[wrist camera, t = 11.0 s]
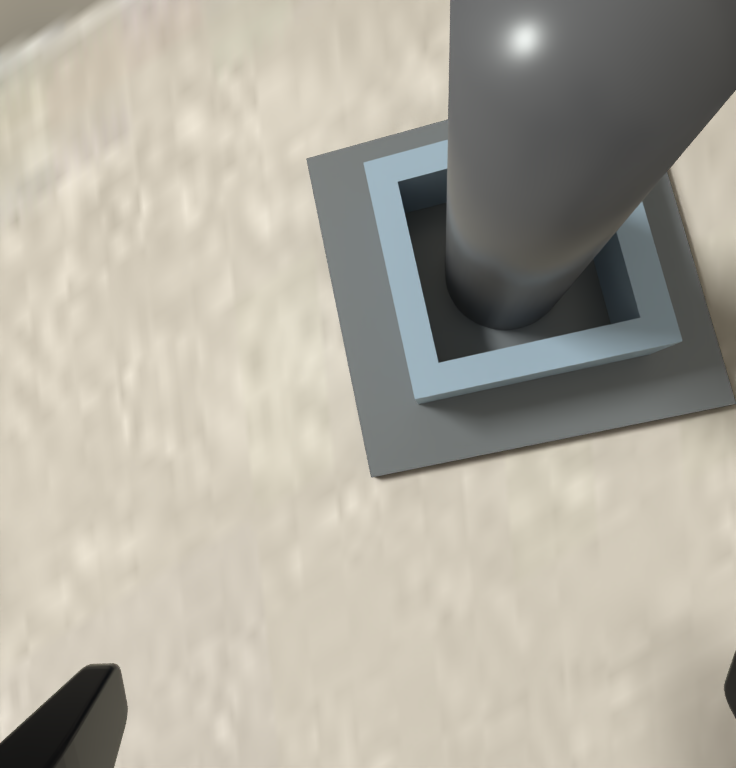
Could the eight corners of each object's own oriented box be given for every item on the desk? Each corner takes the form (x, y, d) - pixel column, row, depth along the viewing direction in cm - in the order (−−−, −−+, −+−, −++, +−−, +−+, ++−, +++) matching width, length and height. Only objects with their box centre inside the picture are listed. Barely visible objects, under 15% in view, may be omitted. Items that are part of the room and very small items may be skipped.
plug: (591, 275, 19) (855, -12, 7) (498, 354, 19) (596, 208, 7) (509, 192, 20) (618, -201, 8) (421, 268, 20) (388, 2, 8)
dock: (729, 404, 19) (784, 398, 16) (372, 476, 20) (360, 483, 17) (632, 74, 20) (664, 12, 17) (308, 163, 22) (287, 120, 19)
